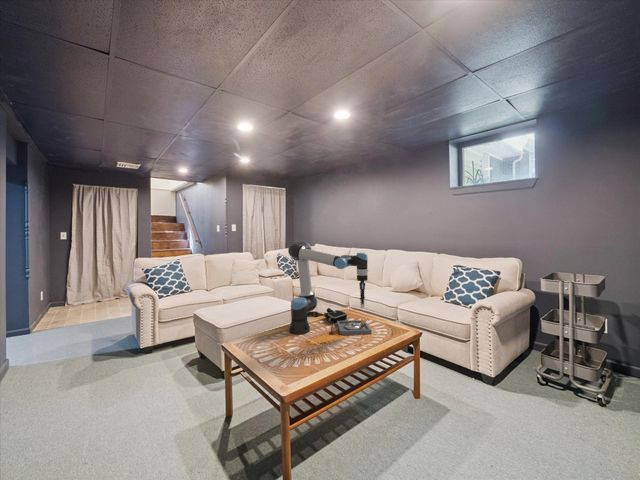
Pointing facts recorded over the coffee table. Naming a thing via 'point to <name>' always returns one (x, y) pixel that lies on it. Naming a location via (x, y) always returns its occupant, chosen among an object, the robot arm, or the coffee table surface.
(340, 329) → the panel
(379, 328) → the coffee table surface
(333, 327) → the screwdriver
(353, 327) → the dial
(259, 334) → the coffee table surface
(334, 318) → the film camera
